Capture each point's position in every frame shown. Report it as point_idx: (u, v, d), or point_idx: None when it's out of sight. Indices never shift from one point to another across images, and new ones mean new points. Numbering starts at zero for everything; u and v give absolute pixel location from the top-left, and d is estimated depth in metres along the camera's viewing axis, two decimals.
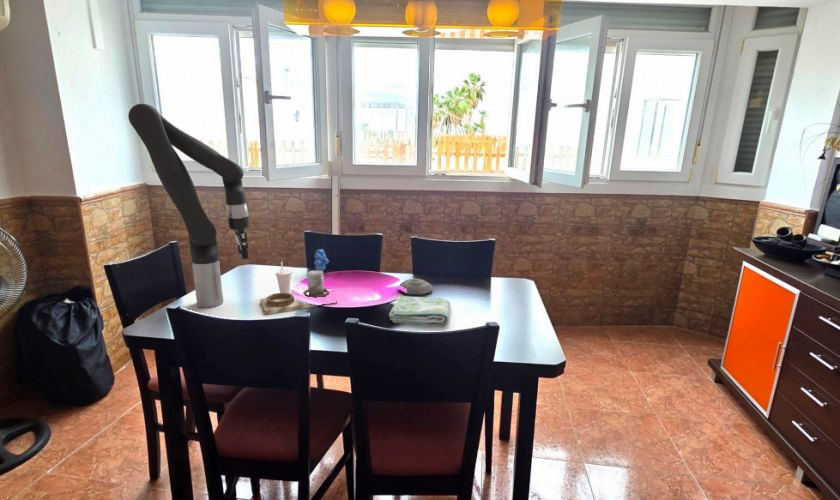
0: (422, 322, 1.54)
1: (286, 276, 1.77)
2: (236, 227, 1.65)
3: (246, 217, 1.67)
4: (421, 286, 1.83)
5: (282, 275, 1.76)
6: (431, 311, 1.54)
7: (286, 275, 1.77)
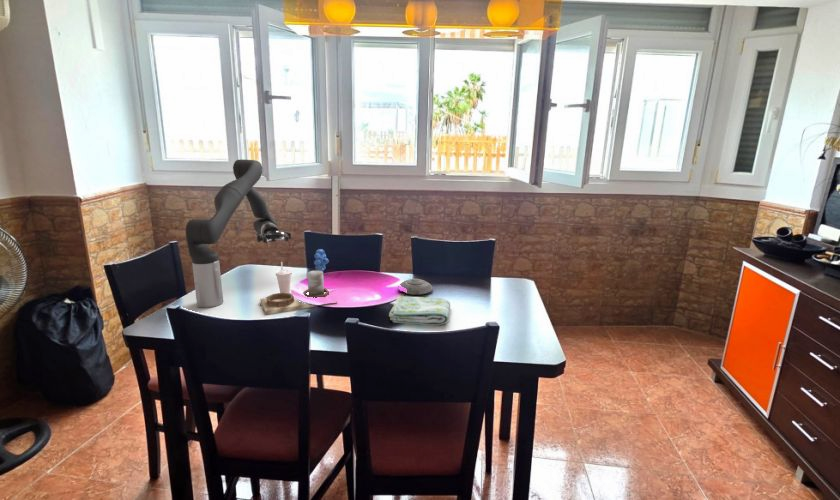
0: (422, 322, 1.54)
1: (286, 276, 1.77)
2: None
3: None
4: (421, 286, 1.83)
5: (282, 275, 1.76)
6: (431, 311, 1.54)
7: (286, 275, 1.77)
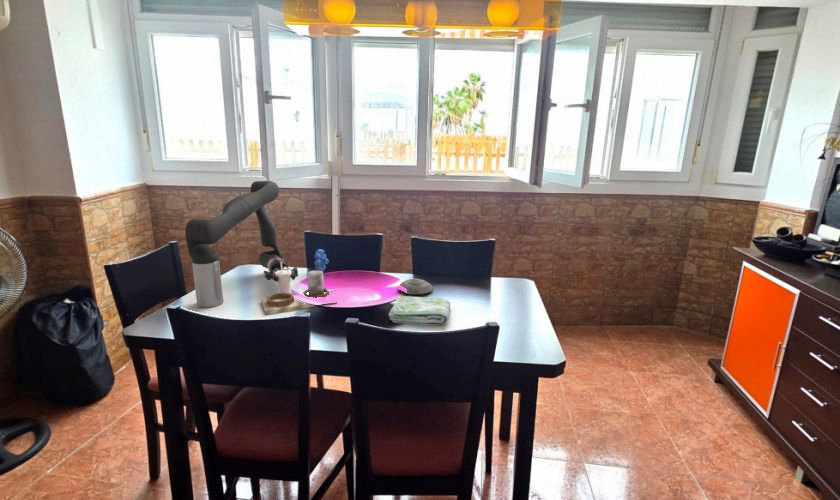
0: (421, 322, 1.54)
1: (286, 276, 1.77)
2: None
3: None
4: (421, 286, 1.83)
5: (282, 275, 1.76)
6: (430, 311, 1.54)
7: (286, 275, 1.76)
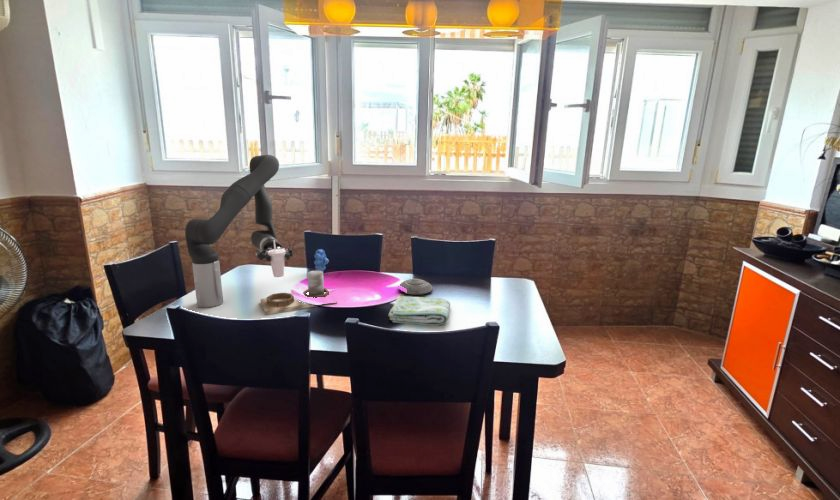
0: (421, 322, 1.54)
1: (279, 255, 1.62)
2: None
3: None
4: (421, 286, 1.83)
5: (275, 254, 1.61)
6: (430, 311, 1.54)
7: (279, 254, 1.61)
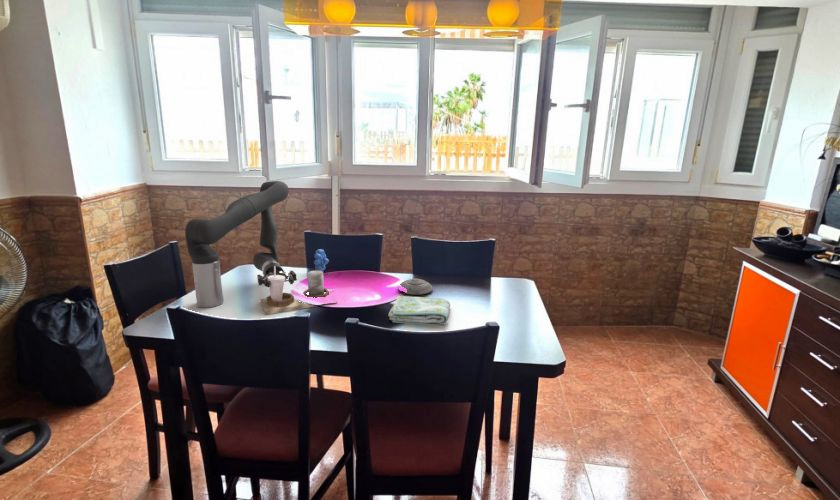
0: (421, 322, 1.54)
1: (279, 281, 1.64)
2: (282, 269, 1.77)
3: None
4: (421, 286, 1.83)
5: (274, 280, 1.63)
6: (430, 311, 1.54)
7: (279, 280, 1.64)
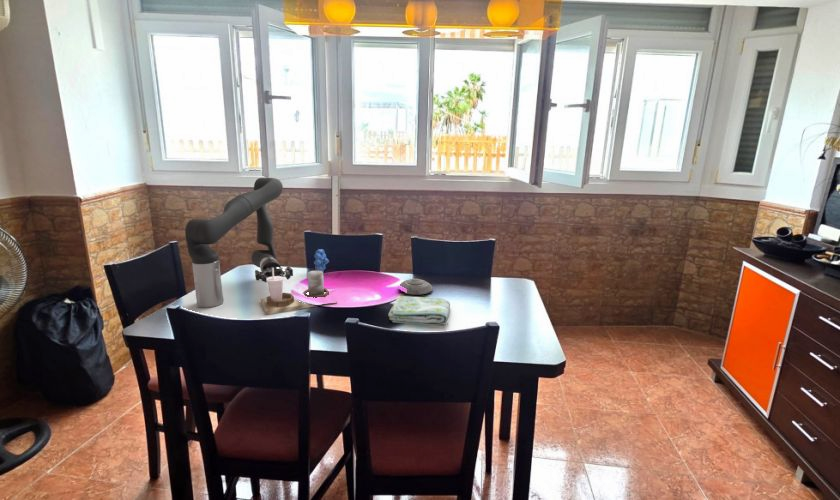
0: (421, 322, 1.54)
1: (278, 283, 1.64)
2: (279, 265, 1.81)
3: None
4: (421, 286, 1.83)
5: (273, 282, 1.63)
6: (430, 311, 1.54)
7: (278, 282, 1.64)
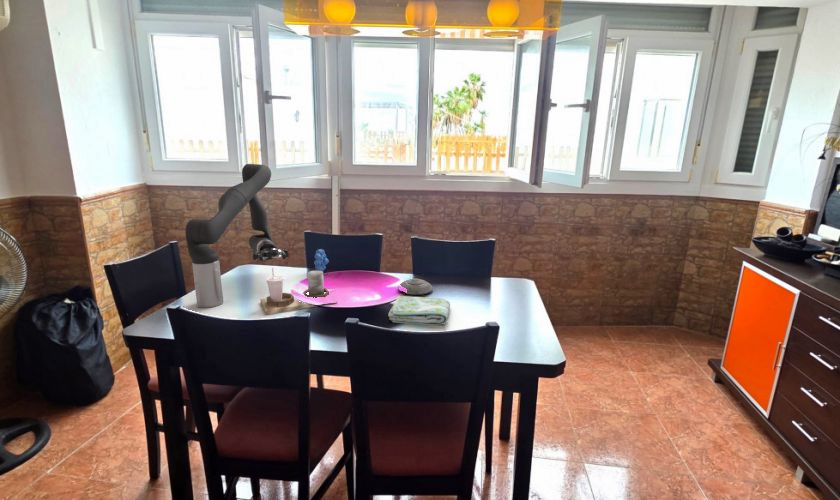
0: (421, 322, 1.54)
1: (278, 283, 1.64)
2: (276, 247, 1.88)
3: None
4: (421, 286, 1.83)
5: (273, 282, 1.63)
6: (430, 311, 1.54)
7: (278, 282, 1.64)
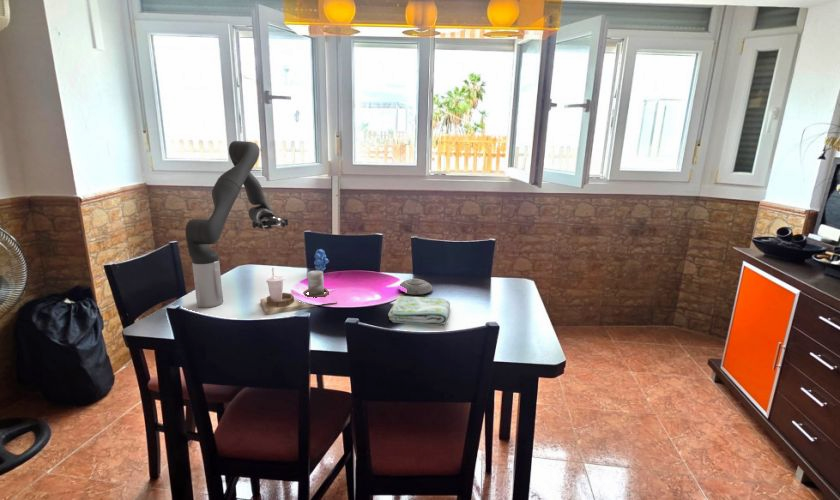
0: (421, 322, 1.54)
1: (278, 283, 1.64)
2: (275, 216, 1.90)
3: None
4: (421, 286, 1.83)
5: (273, 282, 1.63)
6: (430, 311, 1.54)
7: (278, 282, 1.64)
